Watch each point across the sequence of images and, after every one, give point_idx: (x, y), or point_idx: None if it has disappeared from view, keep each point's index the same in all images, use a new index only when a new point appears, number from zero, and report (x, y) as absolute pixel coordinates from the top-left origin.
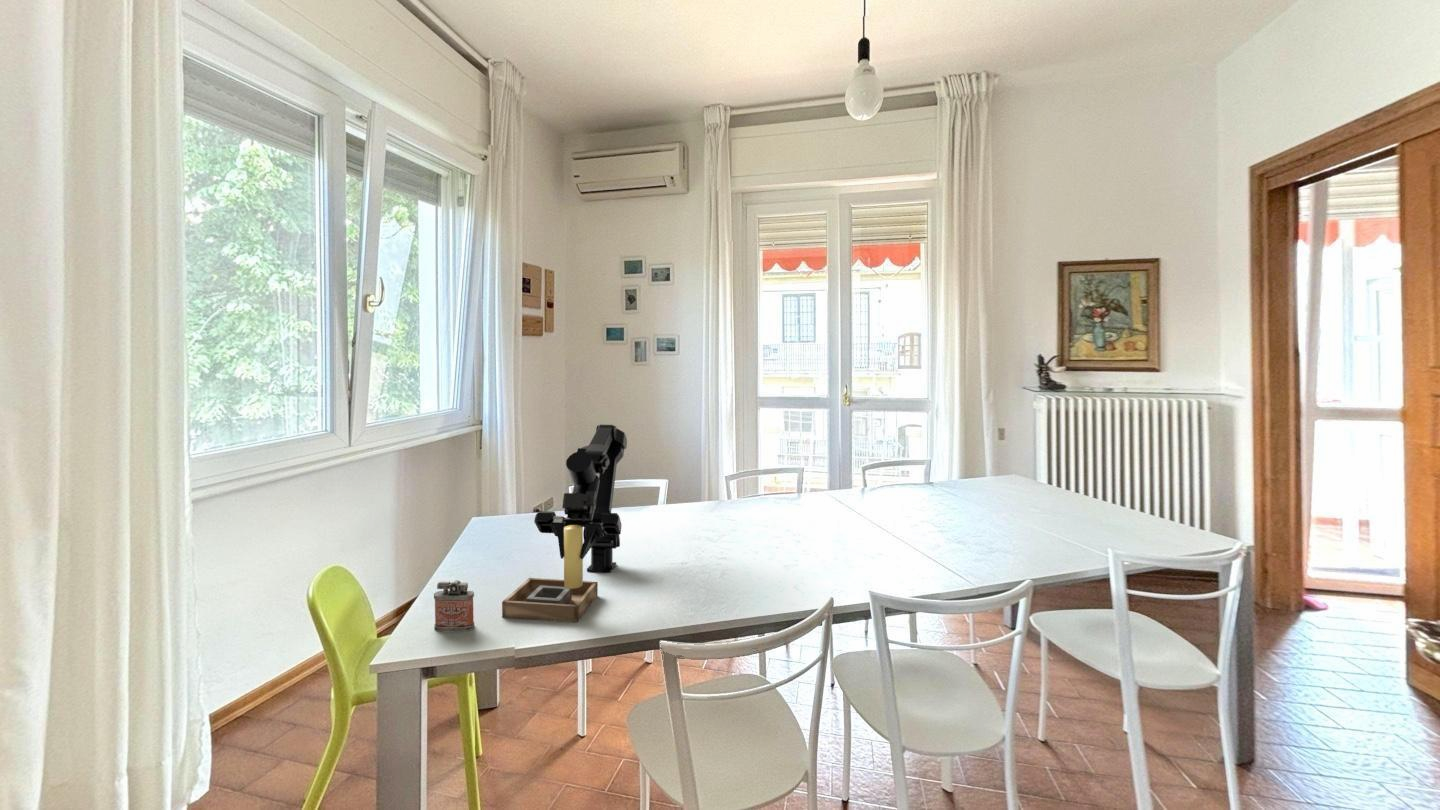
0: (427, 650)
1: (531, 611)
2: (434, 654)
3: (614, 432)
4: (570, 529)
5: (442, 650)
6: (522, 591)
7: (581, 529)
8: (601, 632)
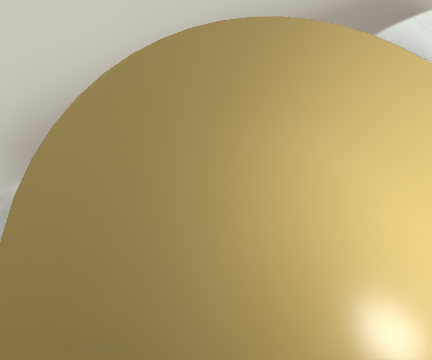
0: (426, 36)
1: None
2: (397, 24)
3: None
4: (297, 78)
5: (396, 41)
6: None
7: (15, 255)
8: (5, 218)
